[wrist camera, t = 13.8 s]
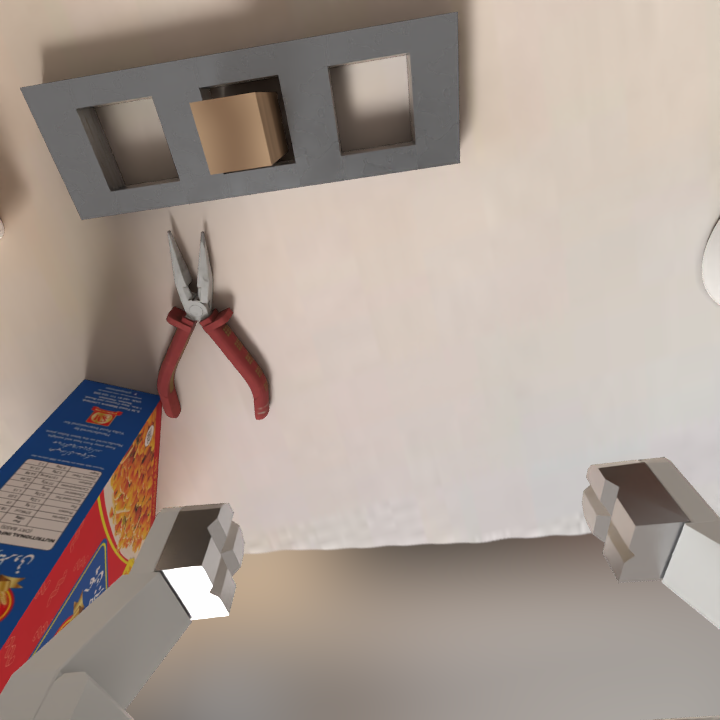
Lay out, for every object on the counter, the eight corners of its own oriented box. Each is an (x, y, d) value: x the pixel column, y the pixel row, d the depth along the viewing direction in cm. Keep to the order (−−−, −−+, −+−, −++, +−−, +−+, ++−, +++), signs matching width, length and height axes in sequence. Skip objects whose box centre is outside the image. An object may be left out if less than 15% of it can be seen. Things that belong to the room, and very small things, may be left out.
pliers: (255, 229, 38) (249, 238, 36) (273, 409, 49) (268, 425, 46) (124, 225, 38) (109, 233, 36) (170, 407, 48) (161, 422, 46)
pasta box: (153, 549, 61) (23, 841, 37) (93, 539, 60) (-81, 834, 36) (162, 396, 47) (-37, 708, 23) (84, 379, 46) (-210, 690, 22)
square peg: (276, 92, 32) (255, 92, 25) (288, 150, 34) (271, 165, 27) (224, 100, 32) (189, 102, 26) (239, 158, 35) (210, 174, 28)
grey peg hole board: (450, 17, 30) (457, 11, 28) (453, 158, 35) (460, 163, 32) (42, 88, 32) (19, 87, 30) (97, 212, 37) (81, 219, 34)
